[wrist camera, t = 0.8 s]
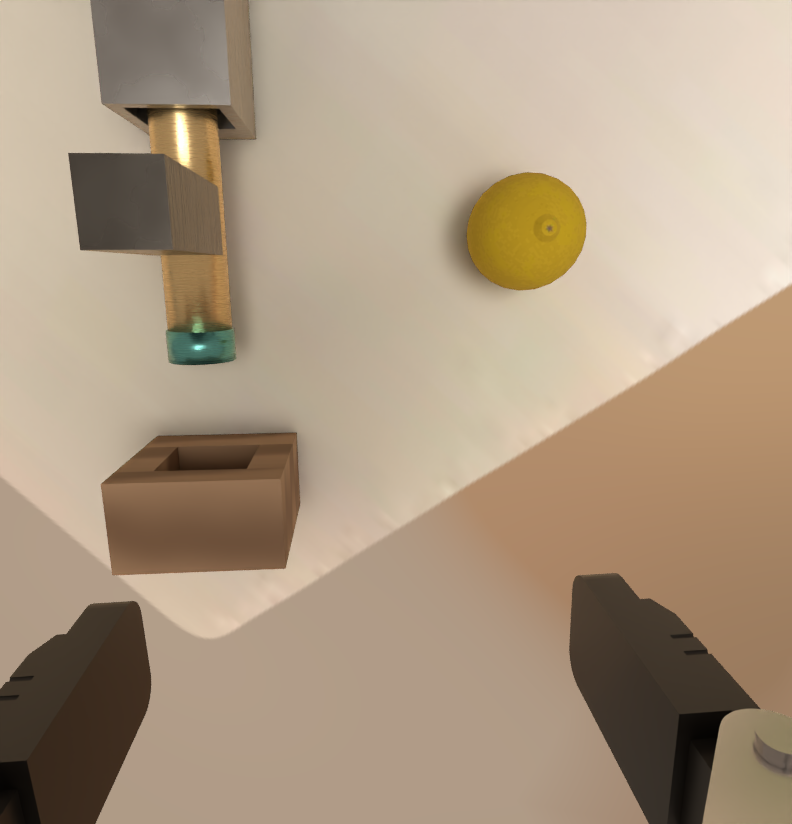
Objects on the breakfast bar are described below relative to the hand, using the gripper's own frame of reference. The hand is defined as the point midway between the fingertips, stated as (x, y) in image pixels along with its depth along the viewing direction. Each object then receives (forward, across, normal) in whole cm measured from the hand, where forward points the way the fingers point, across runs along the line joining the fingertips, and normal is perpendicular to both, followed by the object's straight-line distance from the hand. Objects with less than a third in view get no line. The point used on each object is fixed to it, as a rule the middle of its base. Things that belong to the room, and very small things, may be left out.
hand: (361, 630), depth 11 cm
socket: (+24, +8, +5) cm, 26 cm away
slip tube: (+22, +7, -13) cm, 27 cm away
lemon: (+25, -9, -8) cm, 27 cm away
